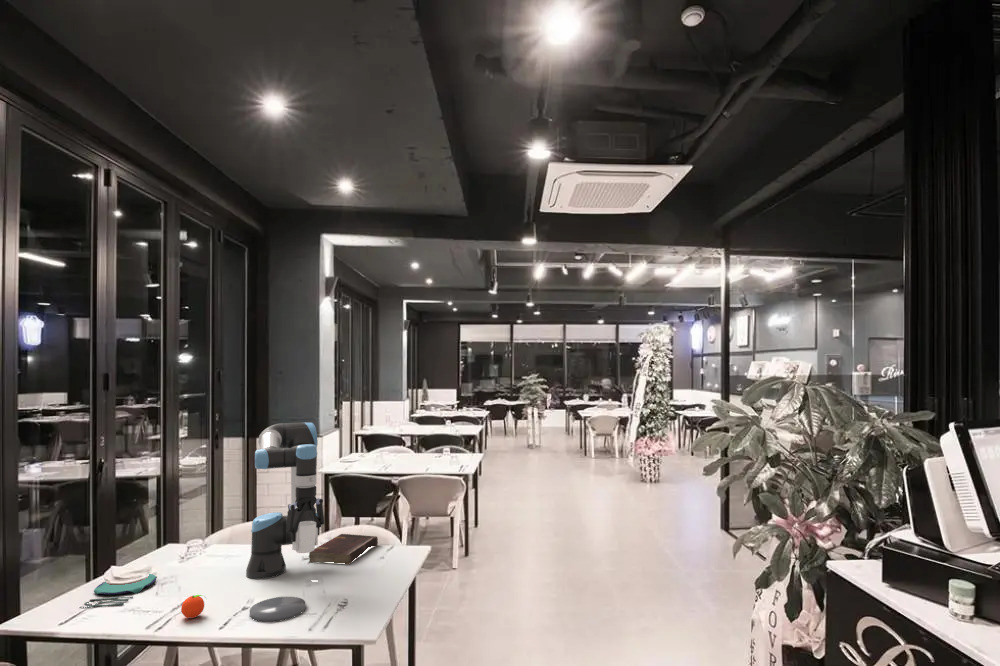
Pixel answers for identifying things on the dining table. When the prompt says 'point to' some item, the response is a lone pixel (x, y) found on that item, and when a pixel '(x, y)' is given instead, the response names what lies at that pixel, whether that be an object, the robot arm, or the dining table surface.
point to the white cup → (306, 536)
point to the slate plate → (277, 609)
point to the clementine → (192, 606)
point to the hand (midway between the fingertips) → (305, 547)
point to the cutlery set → (120, 590)
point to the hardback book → (342, 548)
